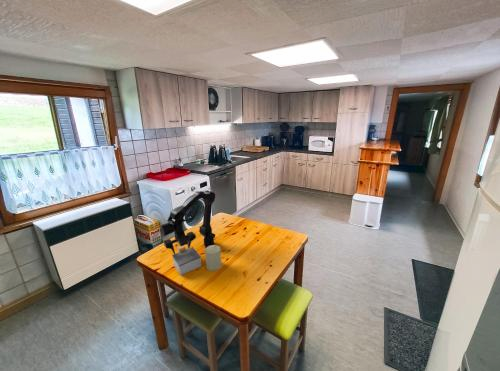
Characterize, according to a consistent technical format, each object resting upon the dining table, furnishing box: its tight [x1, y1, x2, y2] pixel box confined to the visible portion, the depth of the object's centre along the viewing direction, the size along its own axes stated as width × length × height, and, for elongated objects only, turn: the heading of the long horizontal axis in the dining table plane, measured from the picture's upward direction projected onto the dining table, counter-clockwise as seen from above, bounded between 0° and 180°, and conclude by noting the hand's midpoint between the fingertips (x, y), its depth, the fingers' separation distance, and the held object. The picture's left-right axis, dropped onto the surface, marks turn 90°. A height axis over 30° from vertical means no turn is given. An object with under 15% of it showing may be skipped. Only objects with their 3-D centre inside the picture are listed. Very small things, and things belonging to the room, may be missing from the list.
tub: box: [172, 257, 202, 276], centre depth 133 cm, size 13×12×6 cm
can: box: [204, 244, 223, 272], centre depth 131 cm, size 9×9×12 cm
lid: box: [171, 244, 202, 267], centre depth 133 cm, size 13×17×3 cm
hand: (181, 251), depth 138 cm, fingers open, 9 cm apart
